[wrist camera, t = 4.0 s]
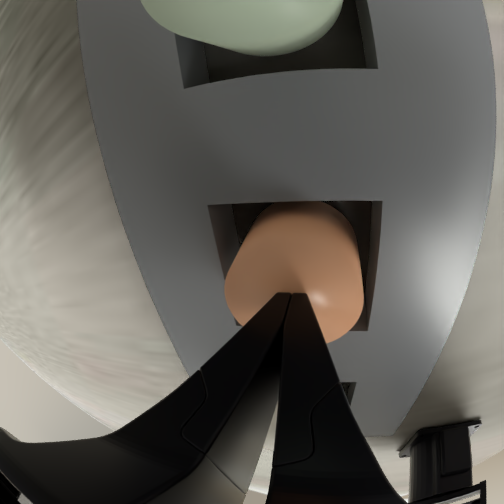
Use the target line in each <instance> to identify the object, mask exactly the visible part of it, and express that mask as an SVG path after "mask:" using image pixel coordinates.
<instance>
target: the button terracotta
mask: <svg viewBox="0 0 504 504" xmlns="http://www.w3.org/2000/svg"><path fill="white" fill-rule="evenodd" d="M277 292H290V293H291V294H293V293H306V294H307V295H308V297H309V300H310V302H311V305H312V307H313V310H314V312H315V315H316V318H317V320H318V323H319V325H320V328H321V331H322V333H323V336H324V338H325V341H326V344H327V343H329V342H332V341H334V340H336V339H338V338H340V337H341V336H343V335H344V334H346V333H347V332H348V331H349V330H350V329H351V328H352V327H353V326H354V325H355V323H356V322H357V320H358V319H359V317H360V314H361V312H362V308H363V304H364V294H363V284H362V275H361V266H360V258H359V251H358V244H357V238H356V235H355V232H354V230H353V228H352V226H351V224H350V223H349V221H348V220H347V219H346V218H345V217H344V216H343V214H342V213H340V212H339V211H338V210H337V209H335V208H333V207H332V206H330V205H328V204H326V203H324V202H321V201H289V202H277V203H274V204H273V205H271V206H269V207H268V208H266V209H265V210H263V211H262V212H261V213H260V214H259V215H258V217H257V218H256V219H255V220H254V222H253V224H252V226H251V228H250V230H249V232H248V234H247V236H246V238H245V240H244V242H243V244H242V245H241V247H240V249H239V251H238V253H237V255H236V257H235V259H234V261H233V263H232V265H231V267H230V269H229V271H228V273H227V276H226V279H225V285H224V293H225V299H226V302H227V305H228V307H229V309H230V311H231V313H232V314H233V316H234V317H235V319H236V320H237V321H238V322H239V323H240V324H241V325H242V326H244V325H245V324H246V323H247V322H248V321H249V320H250V319H251V318H252V317H253V316H254V315H255V314H256V313H257V312H258V311H259V310H260V309H261V308H262V307H263V306H264V305H265V304H266V303H267V302H268V301H269V300H270V299H271V298H272V297H273V296H274V295H275V294H276V293H277Z"/></svg>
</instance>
